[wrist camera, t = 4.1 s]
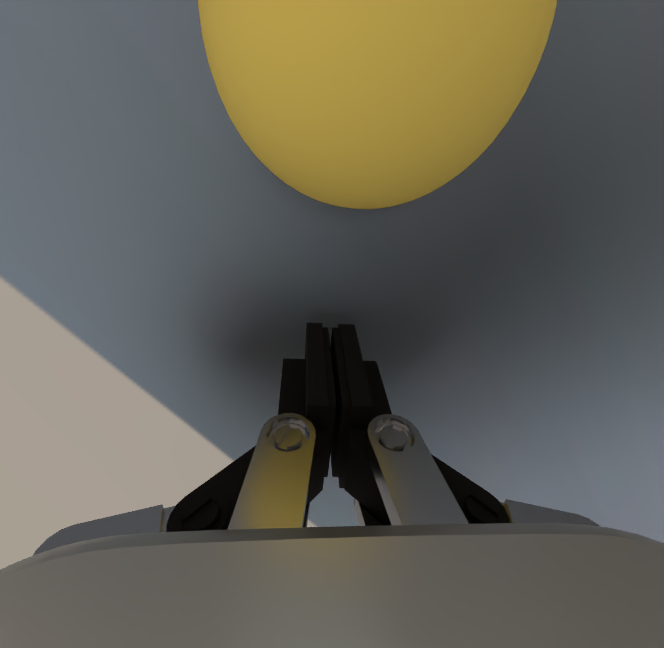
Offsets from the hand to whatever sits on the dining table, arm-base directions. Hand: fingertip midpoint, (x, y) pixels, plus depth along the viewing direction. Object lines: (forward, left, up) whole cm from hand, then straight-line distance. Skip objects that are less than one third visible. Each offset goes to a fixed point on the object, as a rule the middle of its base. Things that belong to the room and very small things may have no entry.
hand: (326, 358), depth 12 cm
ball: (-9, 0, +2) cm, 9 cm away
